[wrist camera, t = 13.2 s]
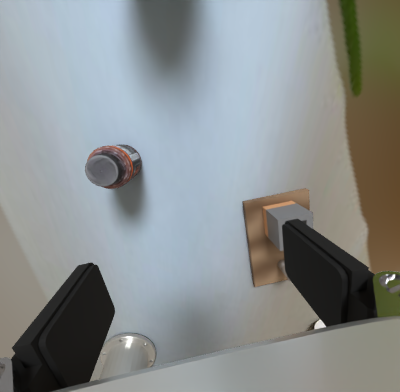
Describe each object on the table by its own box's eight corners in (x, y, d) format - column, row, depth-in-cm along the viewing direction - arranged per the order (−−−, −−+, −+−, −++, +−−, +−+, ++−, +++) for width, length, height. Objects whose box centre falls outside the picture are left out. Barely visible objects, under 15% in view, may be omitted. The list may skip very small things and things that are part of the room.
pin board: (307, 270, 46) (326, 290, 40) (253, 283, 45) (264, 304, 40) (305, 188, 40) (326, 197, 34) (242, 201, 40) (253, 212, 34)
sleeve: (292, 200, 39) (312, 212, 33) (293, 227, 41) (313, 243, 35) (262, 206, 39) (277, 219, 33) (265, 233, 41) (280, 251, 35)
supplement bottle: (130, 184, 37) (108, 204, 26) (101, 164, 35) (65, 176, 24) (149, 158, 36) (135, 167, 25) (120, 136, 34) (92, 136, 23)
